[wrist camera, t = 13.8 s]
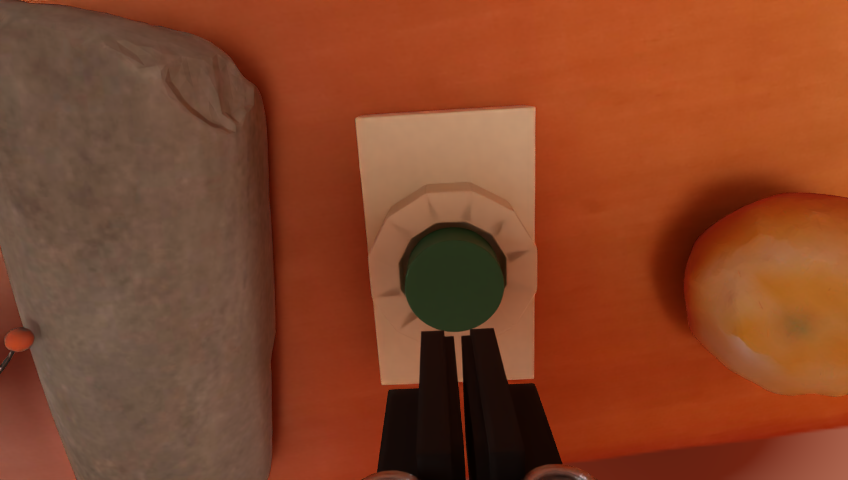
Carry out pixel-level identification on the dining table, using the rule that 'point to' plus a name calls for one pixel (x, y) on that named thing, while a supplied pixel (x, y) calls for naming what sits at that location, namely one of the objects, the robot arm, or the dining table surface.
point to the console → (449, 219)
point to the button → (453, 280)
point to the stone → (139, 242)
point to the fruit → (775, 293)
